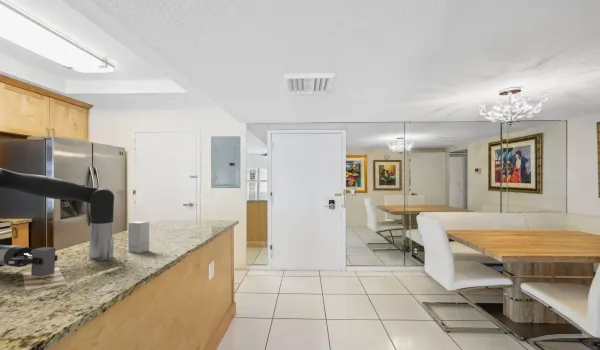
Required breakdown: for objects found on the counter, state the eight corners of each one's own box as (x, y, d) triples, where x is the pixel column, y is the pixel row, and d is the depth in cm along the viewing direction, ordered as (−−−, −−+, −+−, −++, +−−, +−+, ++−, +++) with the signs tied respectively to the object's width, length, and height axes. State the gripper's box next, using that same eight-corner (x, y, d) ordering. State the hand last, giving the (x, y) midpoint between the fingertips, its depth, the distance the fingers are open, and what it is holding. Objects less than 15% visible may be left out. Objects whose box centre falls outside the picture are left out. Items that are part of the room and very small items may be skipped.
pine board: (22, 275, 118) (22, 272, 118) (58, 270, 125) (58, 267, 125) (25, 293, 100) (25, 290, 100) (66, 286, 108) (66, 282, 108)
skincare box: (149, 250, 162) (150, 221, 162) (139, 253, 156) (140, 223, 156) (137, 249, 165) (138, 220, 165) (126, 251, 158) (128, 222, 159)
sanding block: (31, 276, 112) (32, 249, 112) (43, 272, 116) (45, 246, 116) (41, 278, 111) (43, 250, 111) (54, 274, 115) (55, 247, 115)
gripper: (-8, 250, 110) (29, 254, 106) (34, 242, 124) (68, 245, 120) (-9, 271, 110) (28, 276, 106) (33, 260, 124) (67, 264, 120)
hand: (49, 260), depth 113 cm, fingers closed on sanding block, 4 cm apart
